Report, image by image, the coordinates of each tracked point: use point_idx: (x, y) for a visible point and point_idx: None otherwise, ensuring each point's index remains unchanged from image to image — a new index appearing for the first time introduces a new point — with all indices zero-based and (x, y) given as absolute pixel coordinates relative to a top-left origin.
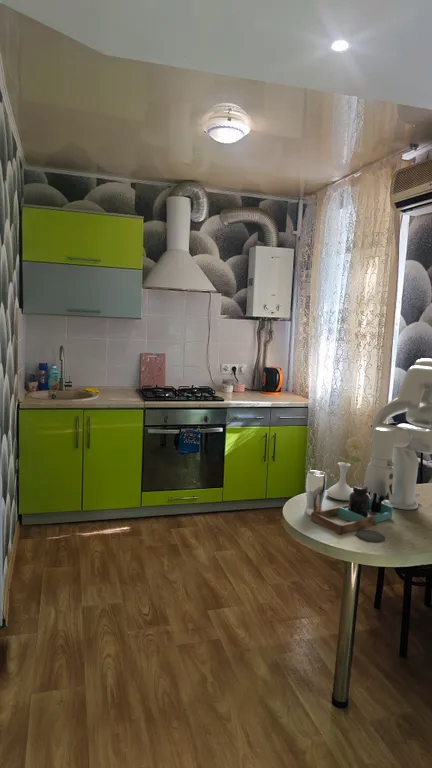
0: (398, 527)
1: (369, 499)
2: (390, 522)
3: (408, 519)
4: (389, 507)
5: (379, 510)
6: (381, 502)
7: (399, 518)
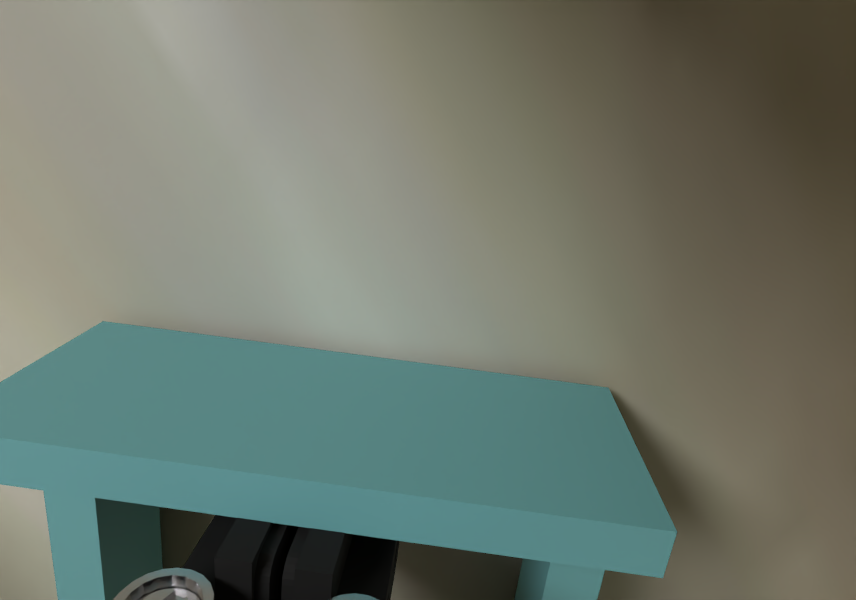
0: (823, 594)
1: (14, 472)
2: None
3: (843, 121)
4: (595, 549)
5: None
6: (319, 481)
7: (688, 231)
